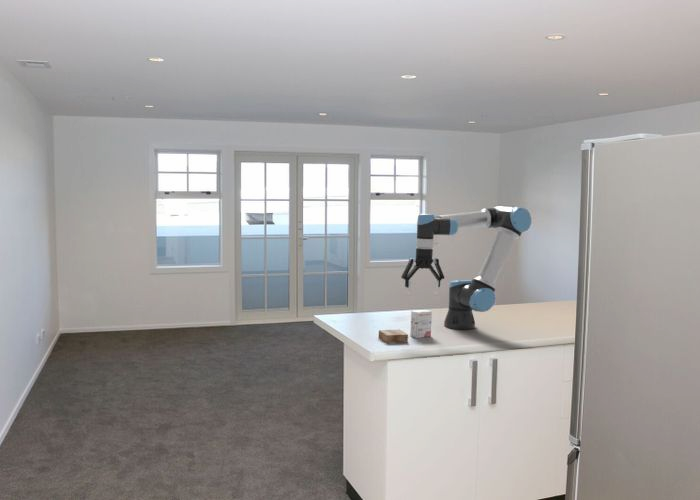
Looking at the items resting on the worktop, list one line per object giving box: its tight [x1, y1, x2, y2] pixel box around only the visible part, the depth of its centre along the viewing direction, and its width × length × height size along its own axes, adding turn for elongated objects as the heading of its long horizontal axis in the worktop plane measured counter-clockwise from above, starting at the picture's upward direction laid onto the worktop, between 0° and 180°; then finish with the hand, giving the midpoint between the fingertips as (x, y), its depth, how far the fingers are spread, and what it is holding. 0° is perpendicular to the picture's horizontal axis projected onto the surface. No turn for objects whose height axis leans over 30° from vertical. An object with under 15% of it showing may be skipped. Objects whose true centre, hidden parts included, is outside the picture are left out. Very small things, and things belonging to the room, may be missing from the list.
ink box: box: [410, 309, 433, 339], centre depth 309 cm, size 9×5×12 cm, turn 122°
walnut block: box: [378, 329, 409, 344], centre depth 300 cm, size 10×10×4 cm
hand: (422, 294), depth 307 cm, fingers open, 13 cm apart
